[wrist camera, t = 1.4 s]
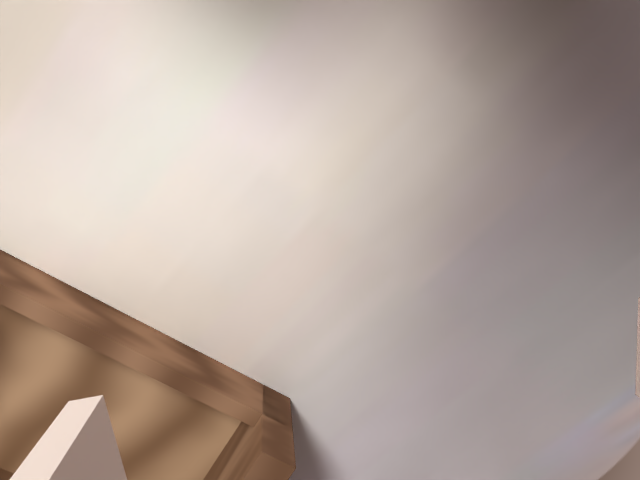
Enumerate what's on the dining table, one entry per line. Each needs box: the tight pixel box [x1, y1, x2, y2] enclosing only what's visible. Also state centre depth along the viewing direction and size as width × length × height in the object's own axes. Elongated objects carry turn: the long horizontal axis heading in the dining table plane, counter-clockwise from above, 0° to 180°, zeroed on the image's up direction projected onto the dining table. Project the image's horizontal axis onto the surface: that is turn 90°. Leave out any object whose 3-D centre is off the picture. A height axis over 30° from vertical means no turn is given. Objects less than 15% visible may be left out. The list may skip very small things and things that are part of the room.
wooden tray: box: [0, 250, 296, 480], centre depth 30 cm, size 30×16×8 cm, turn 57°
